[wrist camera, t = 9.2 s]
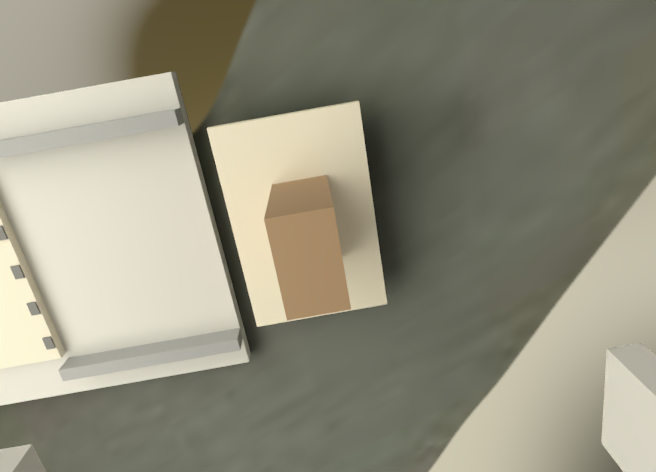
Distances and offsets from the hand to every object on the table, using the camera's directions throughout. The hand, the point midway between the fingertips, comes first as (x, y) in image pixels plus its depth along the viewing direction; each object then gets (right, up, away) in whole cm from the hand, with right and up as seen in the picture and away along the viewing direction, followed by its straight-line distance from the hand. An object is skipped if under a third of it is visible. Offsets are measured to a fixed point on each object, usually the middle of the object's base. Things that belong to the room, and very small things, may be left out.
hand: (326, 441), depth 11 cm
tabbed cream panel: (-1, +6, +16) cm, 17 cm away
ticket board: (-18, +3, +18) cm, 26 cm away
